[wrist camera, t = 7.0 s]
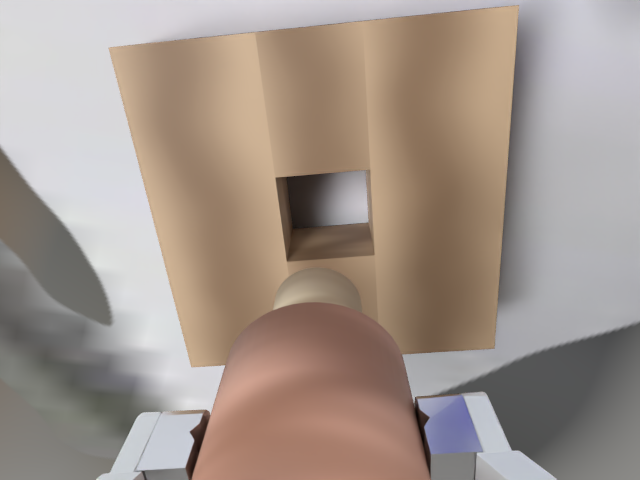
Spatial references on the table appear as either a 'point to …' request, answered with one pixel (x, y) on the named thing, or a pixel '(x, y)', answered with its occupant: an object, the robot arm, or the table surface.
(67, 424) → the table surface
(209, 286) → the board
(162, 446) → the robot arm
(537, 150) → the table surface
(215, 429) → the peg
